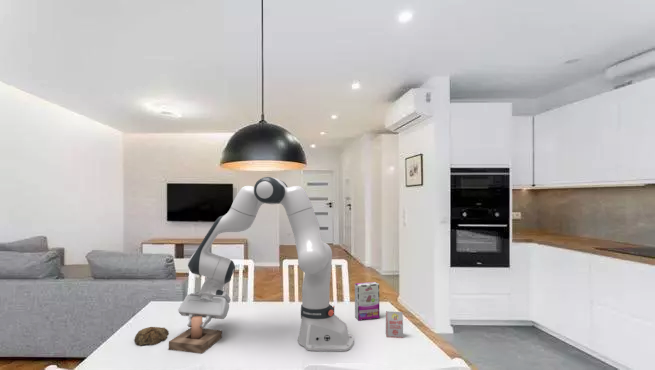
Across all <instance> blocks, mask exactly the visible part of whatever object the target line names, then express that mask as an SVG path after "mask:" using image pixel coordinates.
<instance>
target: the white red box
mask: <svg viewBox="0 0 655 370" xmlns="http://www.w3.org/2000/svg"><path fill="white" fill-rule="evenodd" d="M403 313H404V312H403V311H390V310H389V311H387V310H386V311H385V338H396V339H397V338H398V339H404V318H403V315H404V314H403Z"/></svg>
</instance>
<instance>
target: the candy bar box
mask: <svg viewBox="0 0 655 370" xmlns="http://www.w3.org/2000/svg"><path fill="white" fill-rule="evenodd" d="M380 312H381V310H380V283H378V282H376V281H370V282H369V281H368V282H360V283H359V282H358V283H354V318H355V319H356V320H357V321H358V322H359V321H360V322H361V321H369V320H375V319H376V320H377V319H380Z"/></svg>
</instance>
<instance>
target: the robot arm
mask: <svg viewBox="0 0 655 370" xmlns="http://www.w3.org/2000/svg"><path fill="white" fill-rule="evenodd" d="M231 203H232V204H231V206H230V208H229V210H228V211H227V213H225V214H224V215H220V216H218V217H217V218H216V220H215V221H214V222H213V223H212V225H211V227H210V229H209V230H208V232H207V233H206V235H205V236H204V237H203V239H202V241H201V242H200V244H199V246H198V248H197V249H196V250H195V251H194V253H192V255H191V256H190V258H189V259H188V263H187V267H188V269H189V271H190V272H191V274H192V275H197V276H203V277H205V281H204V282H203V284H202V286H201V288H200V289H199V292H198V293H190V294H187V295H186V296H185V298H184V300H183V301H182V302H181V304H180V305H179V307H178V309H177V310H178V313H179V314H180V316H183V317H188V323H187V327H188V328H191V318H192V317H194V316H202V319H203V318H205V320H204V321H202V322H201V325H200V328H203V329H206V326H207V325H208V324H209V323H211V321H212V319H215V320H216V319H217V320H218V319H219V320H224V319H225V318H226V317H227V316H228V313H229V310H230V303H231V297H230V296H229V294H228V293H227V292H226V291H225V290H224V288H225V285H226V284H228V283H230V282H231V280H232V276H233V274H234V272H235V270H236V265H235V262H234V261H233V260H231V259H230V258H227V257H224V256H220V255H218V254H215V253H212V252H210V251H209V249H210V248H211V246H212V244H213V243H214V241H215V240H216V238H217V236H219V235H220V234H224V233H239V232H245V231H246V230H248V229H250V228H251V226H252V225H253V223H254V222H255V220H256V216H257V214H258V213H259V209H260V208H261V206H262V205H263V204H267V205H279V204H280V205H282V206H283V208H284V210H285V213H286V215H287V219H288V223H289V225H290V228H291V230H292V234H293V238H294V243H295V248H296V253H297V264H298V267H299V269H300V270H301V271H302V273H304V275H303V280H302V286H301V288H302V290H301V291H302V292H301V293H302V294H301V297H302V298H301V299H302V300H301V302H302V303H301V306H300V319H301V322H300V329H299V334H298V337H297V338H298V339H297V342H298V344H299V345H301V346H302V347H304V348H305V349H306V350H307V351H311V352H312V351H313V352H316V351H317V352H319V351H320V352H347V351H350V350H351V349H352V348H353V345H354V343H355V338H354V336H353V335H352V334H350V333H349V330H348V326H347V323H346V322H345V321H344V320H341V318H340V317H338V316H337V315H336V314H335V305H333V306H332V305H331V303H330V290H331V289H330V284H331V283H330V282H331V274H332V265H333V264H332V262H333V259H332V258H333V251H332V247H331V246H330V245H329V244H328V243H327V242H325V241H323V239H322V236H321V235H322V234H321V229H320V224H319V221H318V219H317V215H316V212H315V209H314V208H313V204H312V202H311V200H310V197H309V195H308V194H307V192H306V191H305V188H303V187H302V186H300V185H292V186H289V187H288V185H287V184H286V182H285V181H283V180H281V179H279V178H276V177H271V176H264V177H262V178H260V179H258V180H257V181H256V183H254V186H253V185H252V186H251V185H245V186H242V187H241V188H240V189H239V191H238V192H237V194H236V196H235V197H234V199H233V202H231Z"/></svg>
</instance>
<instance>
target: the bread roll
mask: <svg viewBox="0 0 655 370" xmlns="http://www.w3.org/2000/svg"><path fill="white" fill-rule="evenodd" d="M169 332H170V331H169V330H168V329H167V328H166V327H161V326H159V327H158V326H150V327H145V328H142V329H140V330H138V332H137V333H136V334H135V336H134V339H133V341H134V343H135V344H136V346H139V347H140V346H145V345H149V346H157V345H159V344H160V343H161V342H164V341H166V340H167V339H168V336H169V335H170V333H169Z"/></svg>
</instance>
